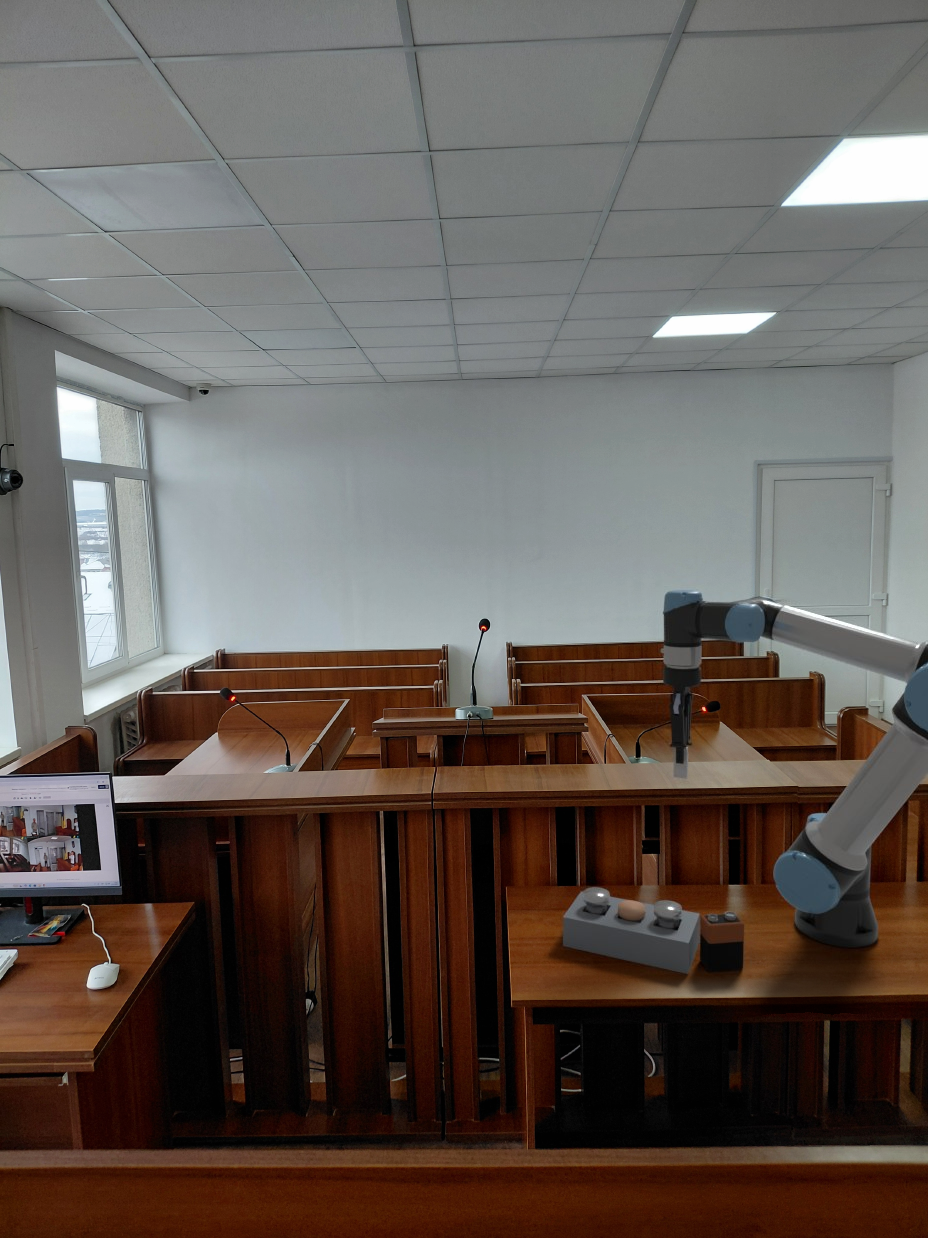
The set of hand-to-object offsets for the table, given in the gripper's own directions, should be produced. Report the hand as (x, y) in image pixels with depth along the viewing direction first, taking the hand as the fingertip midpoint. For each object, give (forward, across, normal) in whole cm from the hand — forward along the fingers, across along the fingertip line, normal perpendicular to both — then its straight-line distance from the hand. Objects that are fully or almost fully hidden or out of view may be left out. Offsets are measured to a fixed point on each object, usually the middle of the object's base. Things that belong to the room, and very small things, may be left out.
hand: (680, 776), depth 162 cm
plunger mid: (+28, +18, -6) cm, 34 cm away
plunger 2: (+27, +18, +1) cm, 32 cm away
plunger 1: (+27, +17, -13) cm, 34 cm away
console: (+29, +18, -6) cm, 35 cm away
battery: (+30, +18, +11) cm, 36 cm away
